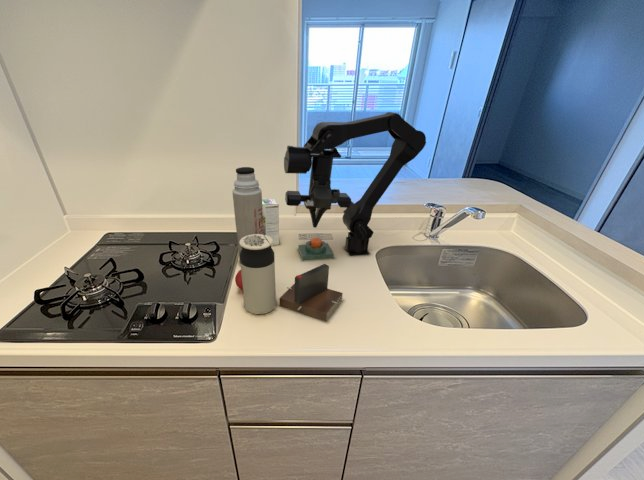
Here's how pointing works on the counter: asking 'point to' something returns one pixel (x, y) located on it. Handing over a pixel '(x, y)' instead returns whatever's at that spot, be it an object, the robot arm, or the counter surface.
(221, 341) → the counter surface
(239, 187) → the thermos bottle
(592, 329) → the counter surface
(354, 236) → the robot arm
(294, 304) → the brown wooden base
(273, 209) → the syrup box
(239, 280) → the onion
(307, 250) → the button box
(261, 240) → the travel mug
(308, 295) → the lever
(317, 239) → the button
